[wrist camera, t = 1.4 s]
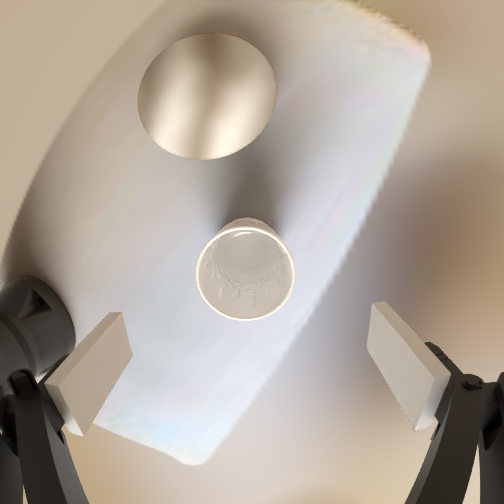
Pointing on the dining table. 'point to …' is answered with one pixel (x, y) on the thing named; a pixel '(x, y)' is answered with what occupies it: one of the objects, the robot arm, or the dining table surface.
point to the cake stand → (207, 96)
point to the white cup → (245, 270)
